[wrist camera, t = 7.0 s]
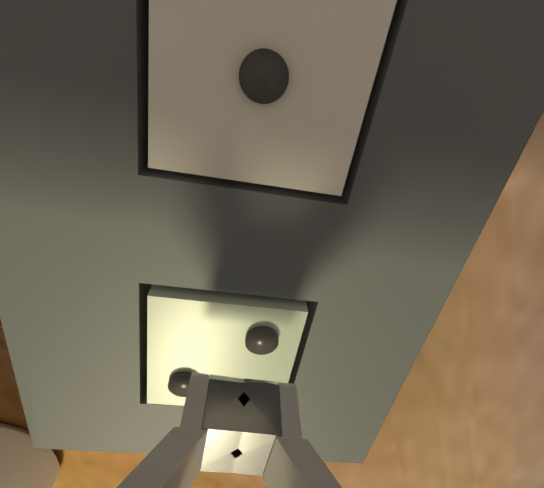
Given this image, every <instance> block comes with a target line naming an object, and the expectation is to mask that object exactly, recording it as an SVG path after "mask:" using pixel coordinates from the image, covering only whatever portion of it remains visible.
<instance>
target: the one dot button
mask: <svg viewBox="0 0 544 488" xmlns="http://www.w3.org/2000/svg"><path fill="white" fill-rule="evenodd" d="M396 2H397V0H149V79H148V168H154V169H161V170H168V171H174V172H181V173H188V174H195V175H201V176H208V177H215V178H222V179H229V180H235V181H242V182H249V183H256V184H262V185H269V186H276V187H283V188H290V189H296V190H303V191H310V192H317V193H323V194H330V195H337V196H341V195H342V192H343V188H344V185H345V181H346V178H347V174H348V171H349V167H350V164H351V160H352V157H353V153H354V150H355V146H356V143H357V139H358V136H359V132H360V129H361V125H362V121H363V118H364V114H365V111H366V107H367V104H368V100H369V97H370V93H371V90H372V86H373V83H374V79H375V76H376V72H377V69H378V65H379V62H380V58H381V55H382V51H383V48H384V44H385V41H386V37H387V34H388V30H389V27H390V23H391V20H392V16H393V13H394V9H395V6H396Z"/></svg>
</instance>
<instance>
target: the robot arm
mask: <svg viewBox="0 0 544 488" xmlns="http://www.w3.org/2000/svg"><path fill="white" fill-rule="evenodd" d="M209 377H210V378H209ZM200 471H209V472H229V473H239V474H249V475H258V476H263V477H262V478H263V481H264V483H265V485H266V487H267V488H342V487H341V486H340V484H339V483H338V482H337V480H336V479H335V477H334V476H333V475H332V473H331V472H330V470H329V469H328V467H327V466H326V465H325V463H324V462H323V460H322V459H321V458H320V456H319V455H318V453H317V452H316V451H315V449H314V448H313V446H312V445H311V443H310V442H309V441H308V439H302V431H301V422H300V413H299V404H298V395H297V387H296V385H295V384H291V383H282V382H276V381H266V380H256V379H246V378H244V379H240V378H233V377H226V376H219V375H212V374H204V373H196V372H192V374H191V377H190V381H189V386H188V390H187V395H186V400H185V405H184V409H183V414H182V419H181V424H180V427H173V429H172V430H171V431H170V432H169V433H168V434H167V435H166V436H165V437H164V438H163V439H162V440H161V441H160V442H159V443H158V444H157V446H156V447H155V448H154V449H153V450H152V451H151V452H150V453H149V454H148V455H147V456H146V457H145V458H144V459H143V460H142V461H141V462H140V464H139V465H138V466H137V467H136V468H135V469H134V470H133V471H132V472H131V473H130V474H129V475H128V476H127V477H126V478H125V479H124V481H123V482H122V483H121V484H120V485H119V486H118V487H117V488H190V487H191V485H192V484H193V482H194V481H195V480H196V478H197V477H198V475H199V474H200Z"/></svg>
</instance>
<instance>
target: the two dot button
mask: <svg viewBox="0 0 544 488" xmlns="http://www.w3.org/2000/svg"><path fill="white" fill-rule="evenodd" d="M307 315H308V309H307V304H306V301H305V300H296V299H286V298H277V297H267V296H258V295H248V294H239V293H229V292H220V291H211V290H201V289H192V288H182V287H173V286H163V285H154V284H152V286H151V288H150V291H149V293H148V296H147V404H163V405H179V406H184V405H185V400H186V395H187V390H188V386H189V381H190V377H191V374H192V372H196V373H204V374H212V375H219V376H226V377H233V378H240V379H244V378H246V379H256V380H266V381H276V382H282V383H288V381H289V378H290V374H291V371H292V367H293V364H294V360H295V357H296V353H297V350H298V346H299V343H300V339H301V336H302V332H303V329H304V325H305V322H306V318H307ZM209 378H210V377H209Z"/></svg>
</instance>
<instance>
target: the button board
mask: <svg viewBox="0 0 544 488" xmlns="http://www.w3.org/2000/svg"><path fill="white" fill-rule="evenodd" d="M148 79H149V0H0V320H1V324H2V328H3V331H4V335H5V339H6V343H7V347H8V351H9V355H10V359H11V363H12V367H13V371H14V375H15V379H16V383H17V387H18V390H19V394H20V398H21V402H22V406H23V410H24V414H25V418H26V422H27V426H28V430H29V434H30V438H31V442H32V446H33V448H37V449H59V450H81V451H104V452H126V453H148V454H149V453H150V452H151V451H152V450H153V449H154V448H155V447H156V446H157V444H158V443H159V442H160V441H161V440H162V439H163V438H164V437H165V436H166V435H167V434H168V433H169V432H170V431H171V430H172V429H173V427H180V424H181V419H182V414H183V409H184V406H179V405H163V404H147V296H148V293H149V291H150V288H151V286H152V284H154V285H163V286H173V287H182V288H192V289H201V290H211V291H220V292H229V293H239V294H248V295H258V296H267V297H277V298H286V299H296V300H305V301H306V304H307V309H308V315H307V318H306V322H305V325H304V329H303V332H302V336H301V339H300V343H299V346H298V350H297V353H296V357H295V360H294V364H293V367H292V371H291V374H290V378H289V381H288V383H291V384H295V385H296V387H297V395H298V404H299V413H300V422H301V431H302V439H308V441H309V442H310V443H311V445H312V446H313V448H314V449H315V451H316V452H317V453H318V455H319V456H320V458H321V459H322V460H323V461H327V462H349V463H363V461H364V459H365V457H366V455H367V453H368V451H369V449H370V447H371V445H372V443H373V441H374V440H375V438H376V436H377V434H378V432H379V430H380V428H381V426H382V424H383V422H384V420H385V418H386V416H387V414H388V412H389V410H390V408H391V406H392V405H393V403H394V401H395V399H396V397H397V395H398V393H399V391H400V389H401V387H402V385H403V383H404V381H405V379H406V377H407V375H408V373H409V371H410V369H411V368H412V366H413V364H414V362H415V360H416V358H417V356H418V354H419V352H420V350H421V348H422V346H423V344H424V342H425V340H426V338H427V336H428V334H429V333H430V331H431V329H432V327H433V325H434V323H435V321H436V319H437V317H438V315H439V313H440V311H441V309H442V307H443V305H444V303H445V301H446V299H447V298H448V296H449V294H450V292H451V290H452V288H453V286H454V284H455V282H456V280H457V278H458V276H459V274H460V272H461V270H462V268H463V266H464V264H465V262H466V261H467V259H468V257H469V255H470V253H471V251H472V249H473V247H474V245H475V243H476V241H477V239H478V237H479V235H480V233H481V231H482V229H483V227H484V226H485V224H486V222H487V220H488V218H489V216H490V214H491V212H492V210H493V208H494V206H495V204H496V202H497V200H498V198H499V196H500V194H501V192H502V190H503V189H504V187H505V185H506V183H507V181H508V179H509V177H510V175H511V173H512V171H513V169H514V167H515V165H516V163H517V161H518V159H519V157H520V155H521V154H522V152H523V150H524V148H525V146H526V144H527V142H528V140H529V138H530V136H531V134H532V132H533V130H534V128H535V126H536V124H537V122H538V120H539V119H540V117H541V115H542V113H543V111H544V0H397V2H396V6H395V9H394V13H393V16H392V20H391V23H390V27H389V30H388V34H387V37H386V41H385V44H384V48H383V51H382V55H381V58H380V62H379V65H378V69H377V72H376V76H375V79H374V83H373V86H372V90H371V93H370V97H369V100H368V104H367V107H366V111H365V114H364V118H363V121H362V125H361V129H360V132H359V136H358V139H357V143H356V146H355V150H354V153H353V157H352V160H351V164H350V167H349V171H348V174H347V178H346V181H345V185H344V188H343V192H342V195H341V196H337V195H330V194H323V193H317V192H310V191H303V190H296V189H290V188H283V187H276V186H269V185H262V184H256V183H249V182H242V181H235V180H229V179H222V178H215V177H208V176H201V175H195V174H188V173H181V172H174V171H168V170H161V169H154V168H148Z"/></svg>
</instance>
